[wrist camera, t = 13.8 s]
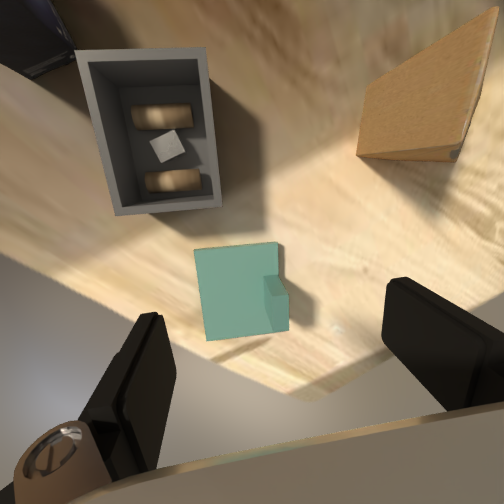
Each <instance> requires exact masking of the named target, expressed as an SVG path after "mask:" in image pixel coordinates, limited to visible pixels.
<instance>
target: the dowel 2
mask: <svg viewBox="0 0 504 504" xmlns="http://www.w3.org/2000/svg"><path fill="white" fill-rule="evenodd" d="M145 184H146V188H147V190H148V192H149V193H150V194H152V193H164V192H177V191H190V190H202V182H201V175H200V170H199V169H185V170H171V171H157V172H146V173H145Z"/></svg>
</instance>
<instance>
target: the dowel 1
mask: <svg viewBox="0 0 504 504" xmlns="http://www.w3.org/2000/svg"><path fill="white" fill-rule="evenodd" d="M131 114H132V119H133V122H134V125H135V127H136V129H137V130H157V129H176V128H194V121H193V114H192V108H191V103H169V104H146V105H132V106H131Z"/></svg>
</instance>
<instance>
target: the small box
mask: <svg viewBox="0 0 504 504" xmlns="http://www.w3.org/2000/svg"><path fill="white" fill-rule="evenodd" d="M74 50H77V48H76V46H75V44H74V42H73V40H72V38H71V37H70V35H69V33H68V31H67V29H66V27H65V25H64V24H63V22H62V20H61V18H60V16H59V14H58V12H57V10H56V8H55V7H54V5H53V3H52V1H51V0H0V63H1V64H2V65H5V66H6V67H8V68H10V69H12V70H14V71H15V72H17V73H19V74H21V75H22V76H24V77H26V78H28V79H30V80H32V79H35V78H36V77H38V76H39V75H43V74H44V73H46V72H48V71H51V70H53V69H55V68H58V67H60V66H62V65H67V64H68V63H70V62H72V61H74V60H75V59H76V55H75V51H74Z"/></svg>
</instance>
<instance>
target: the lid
mask: <svg viewBox="0 0 504 504" xmlns="http://www.w3.org/2000/svg"><path fill="white" fill-rule="evenodd" d="M194 256H195V263H196V270H197V277H198V284H199V291H200V298H201V305H202V312H203V319H204V327H205V334H206V341H214V340H221V339H229V338H236V337H244V336H252V335H259V334H267V333H275V332H281V331H289V294H288V293H287V291H286V289H285V287H284V286H283V284H282V282H281V280H280V279H279V270H278V243H277V242H267V243H256V244H245V245H234V246H224V247H213V248H202V249H194Z"/></svg>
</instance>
